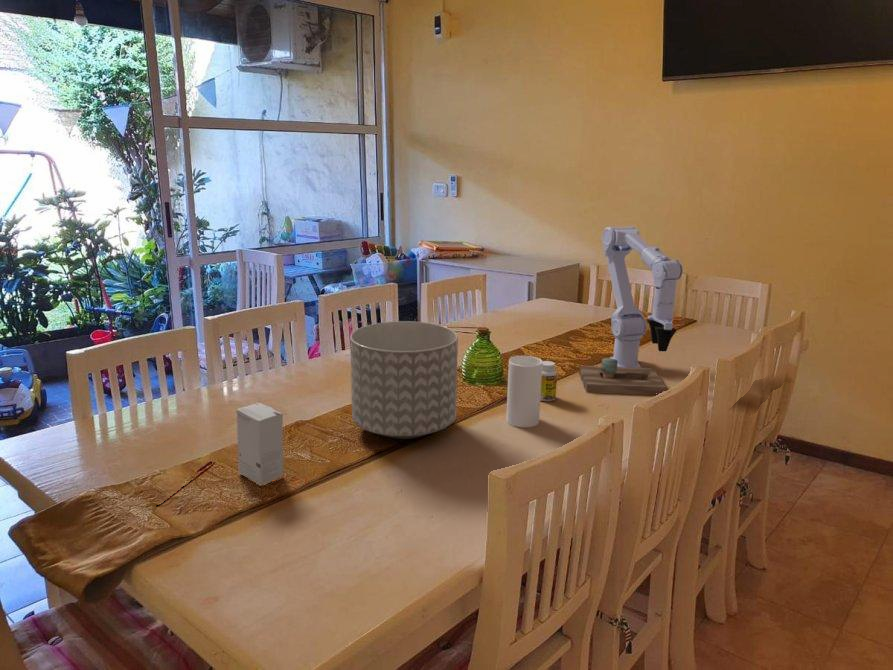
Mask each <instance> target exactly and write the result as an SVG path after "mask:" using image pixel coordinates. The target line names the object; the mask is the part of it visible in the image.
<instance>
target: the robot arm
mask: <svg viewBox="0 0 893 670" xmlns="http://www.w3.org/2000/svg"><path fill="white" fill-rule="evenodd" d="M601 243H602V247H603V253H604V255H605V257H606V261H607V265H608V270H609V272H608V273H609V276H610V277H609V278H610V281H611V286H612V289H613V290H612V291H613V295H614V300H615V304H616V310H615V311H614V312H613V313H612V314H611V316H610V319H611V326H610V329H611V333H612V335H613V336H614V337H615V339H614V344H613V345H614V346H613V356H610V357H609V358H611V359H615V360H617V361H618V363H617V367H631V368H642V367H641V365H640V363H639V362H638V361H639V360H638V359H639V352H640V351H639V350H640V341H641V339H642V338H643V336H644V335H645V334H646V332H647V331H648V326H649V329H650V336H651V343H652V344H654V345H655V344H657V349H658V352H667V351H668V347H669V345H670V342H671V340H672V339H673V336H674V335H675V334H676V332H677V329H676V328H674V327H673V321H674V309H675V301H676V291H677V282H678V280H680V279H681V277H682V275H683V273H684V272H683V271H684V269H683V265H682V263H681V262H680V260H679V259H671V258H670V257H669V256H668V255H666V254H665V253H664V252H662V251H661V250H660V247H659V246H650V245H649V243H647V242H646V241H645V240H644V238H642V236H641V235H640V231H639V229H637V227H636V226H634V225H630V226H607V227H605V229H604V230H603V233H602V236H601ZM632 250H634V251H635V252H636V253H637V254H639V255H640V259H641V262H642V263H643V264H644V265H645V266H646V267H647V268H649V270H651V271H652V273H651V274H652V277H653V285H654V294H653V305H652V313H651V315H647V320H646V318H645V317H644V314H643V310H641V309H640V308H638V307H637V306H635V303H634V297H633V294H632V289H631V284H630V278H629V274H628V270H627V265H626V260H625V258H626V257H627V256H628V255H629V254H630V253H631V252H632Z"/></svg>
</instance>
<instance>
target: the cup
mask: <svg viewBox="0 0 893 670" xmlns="http://www.w3.org/2000/svg"><path fill="white" fill-rule="evenodd" d="M542 364H543V360H542V359H540V358H539V357H536V356H531V355H516V356H512V357H510V358H509V359H508V371H507V372H508V374H507V375H508V376H507V397H506V398H507V399H506V417H505V419H506V423H507V424H508V425H510V426H513V427H517V428H523V429H525V428H533V427H536V426H537V425H538V424H539V423H540V413H541V411H540V410H541V400H540V397H541V381H542Z"/></svg>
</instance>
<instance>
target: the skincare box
mask: <svg viewBox="0 0 893 670" xmlns="http://www.w3.org/2000/svg"><path fill="white" fill-rule="evenodd" d="M283 416H284V415H283V413H281V412H279V411H278V410H275V409H274V407H271V406H267V405H266V404H263V403H261V402H256V403H252V404H250V405H245V406H243V407H239V408H236V428H237V457H238V459H237V463H238V465H237V467H238V475H239V474H241V475H244V476H246V477H248V478H249V479H251V480H253V481H254V482H256V483H258V484H259V485H263V484H265V483H267V482H270V481H272V480H274V479H277V478H279V477H281V476H283V475H284V428H283V426H284V425H283V424H284V422H283ZM241 475H240V476H241ZM249 479H248V480H249ZM251 480H250V481H251ZM254 482H253V483H254Z"/></svg>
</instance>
